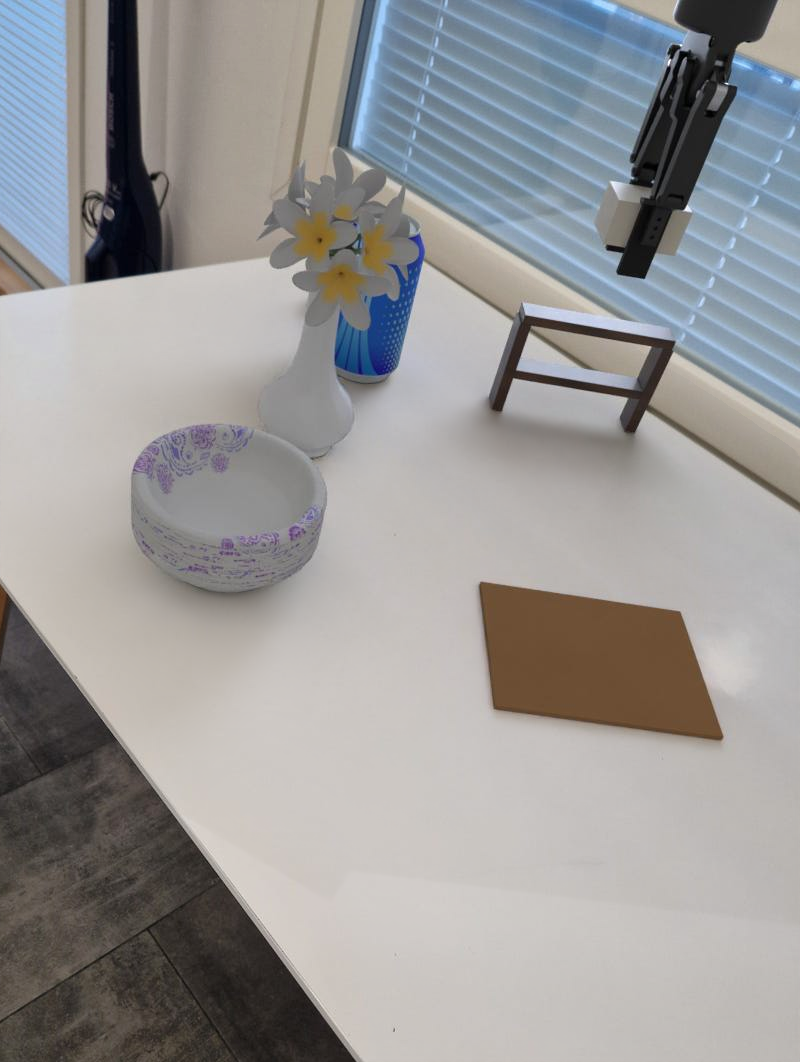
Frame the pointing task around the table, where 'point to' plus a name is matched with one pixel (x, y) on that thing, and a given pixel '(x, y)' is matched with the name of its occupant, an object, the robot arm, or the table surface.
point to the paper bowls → (226, 506)
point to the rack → (579, 378)
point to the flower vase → (331, 292)
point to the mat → (594, 661)
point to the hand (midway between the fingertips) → (624, 262)
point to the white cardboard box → (635, 217)
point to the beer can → (379, 325)
